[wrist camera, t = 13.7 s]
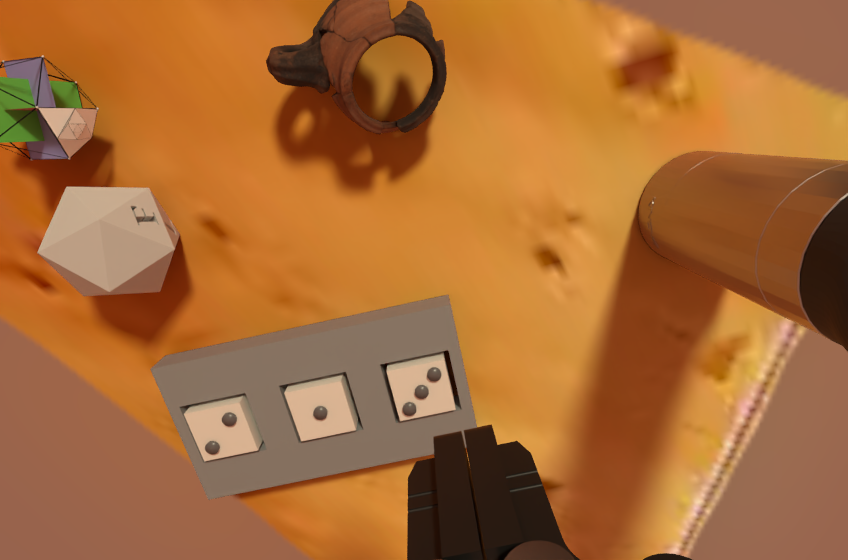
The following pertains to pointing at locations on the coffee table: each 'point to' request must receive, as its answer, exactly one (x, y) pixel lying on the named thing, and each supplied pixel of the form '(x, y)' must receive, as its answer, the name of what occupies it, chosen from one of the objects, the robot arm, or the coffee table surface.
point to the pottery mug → (358, 56)
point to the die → (110, 240)
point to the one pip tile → (322, 406)
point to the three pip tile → (421, 386)
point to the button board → (307, 359)
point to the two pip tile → (224, 427)
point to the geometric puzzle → (42, 111)
